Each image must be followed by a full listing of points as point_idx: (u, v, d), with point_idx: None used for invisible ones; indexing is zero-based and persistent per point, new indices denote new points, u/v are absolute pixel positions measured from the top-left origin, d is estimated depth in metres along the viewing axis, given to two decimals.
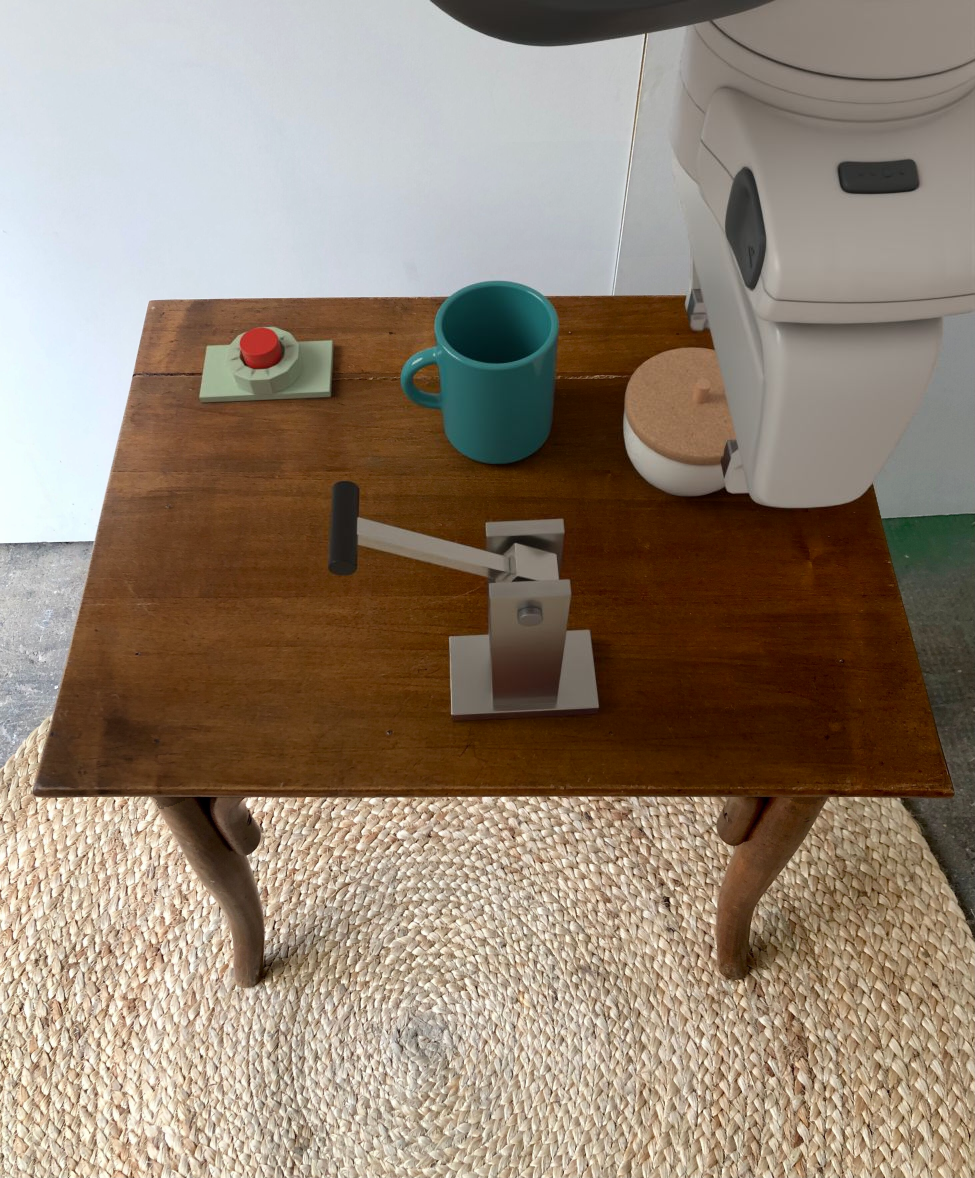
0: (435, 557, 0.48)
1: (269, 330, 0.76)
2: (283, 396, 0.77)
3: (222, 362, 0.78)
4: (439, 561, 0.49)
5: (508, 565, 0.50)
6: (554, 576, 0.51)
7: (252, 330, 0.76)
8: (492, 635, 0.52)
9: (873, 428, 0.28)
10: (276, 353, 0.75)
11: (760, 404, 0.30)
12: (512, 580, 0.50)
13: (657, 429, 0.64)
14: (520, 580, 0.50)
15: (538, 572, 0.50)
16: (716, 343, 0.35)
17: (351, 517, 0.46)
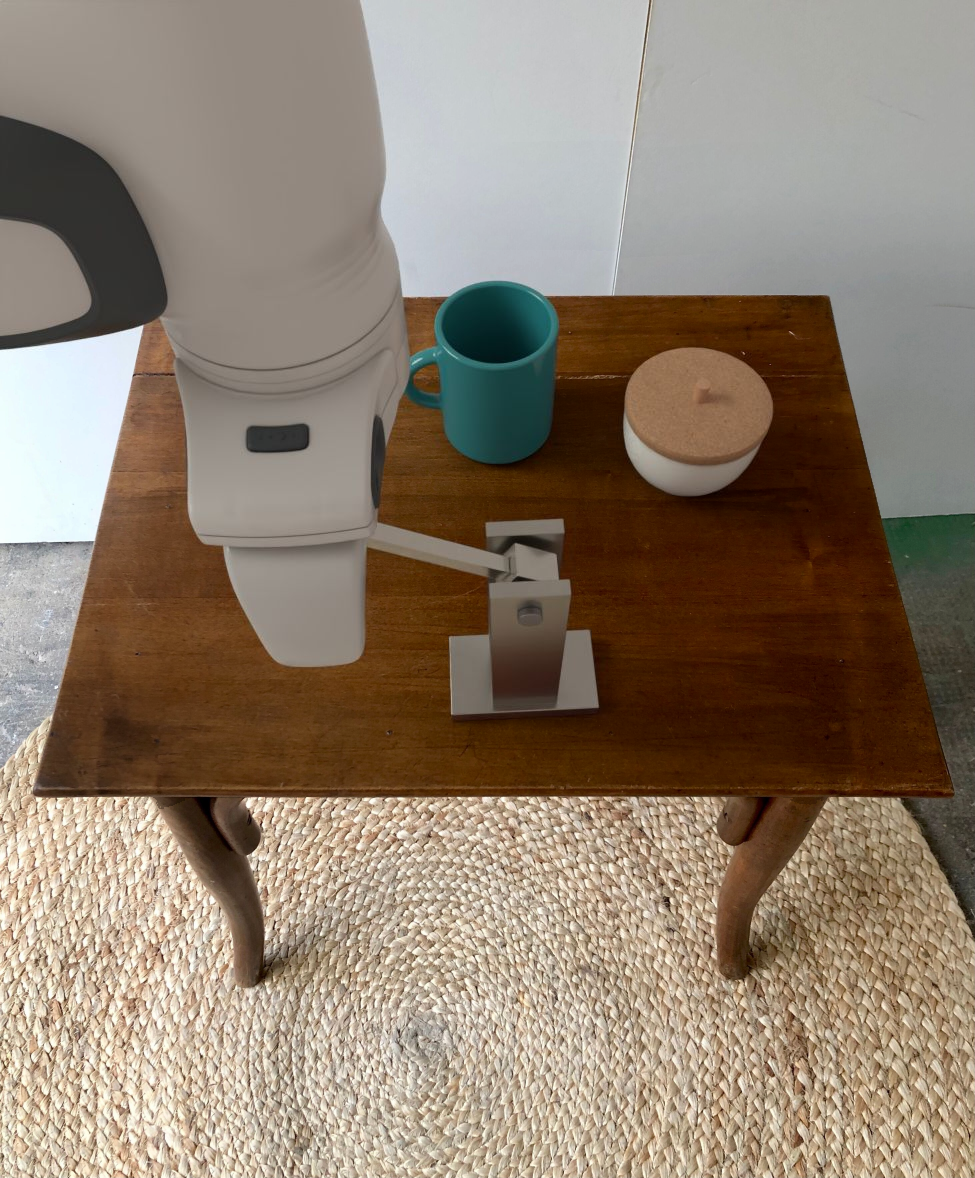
0: (435, 557, 0.48)
1: None
2: None
3: None
4: (439, 561, 0.49)
5: (508, 565, 0.50)
6: (554, 576, 0.51)
7: None
8: (492, 635, 0.52)
9: (328, 616, 0.34)
10: None
11: None
12: (512, 580, 0.50)
13: (657, 429, 0.64)
14: (520, 580, 0.50)
15: (538, 572, 0.50)
16: None
17: None
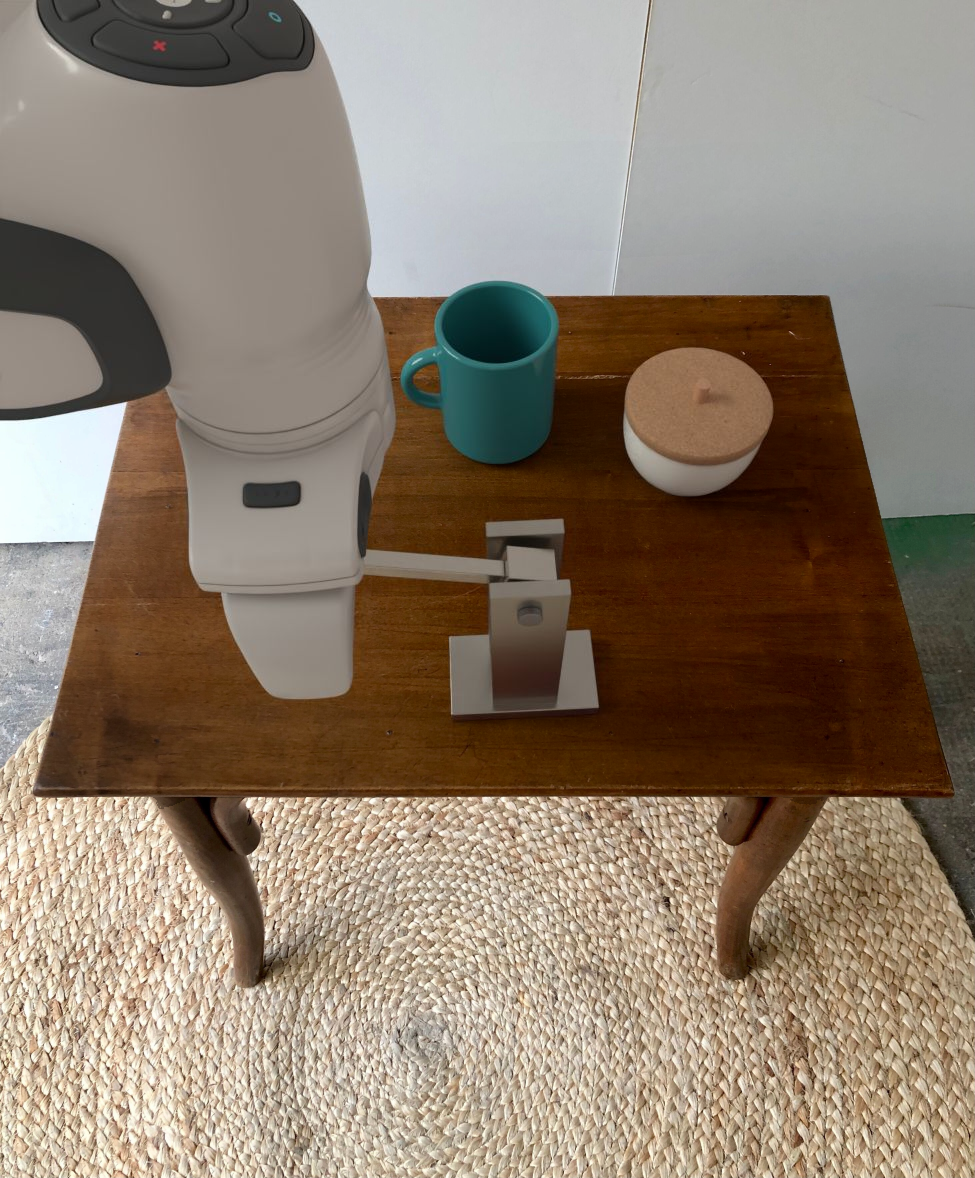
0: (424, 573, 0.50)
1: None
2: None
3: None
4: (430, 576, 0.50)
5: (503, 569, 0.51)
6: (550, 572, 0.50)
7: None
8: (492, 635, 0.52)
9: (318, 655, 0.37)
10: None
11: None
12: None
13: (657, 429, 0.64)
14: None
15: (532, 571, 0.50)
16: None
17: None
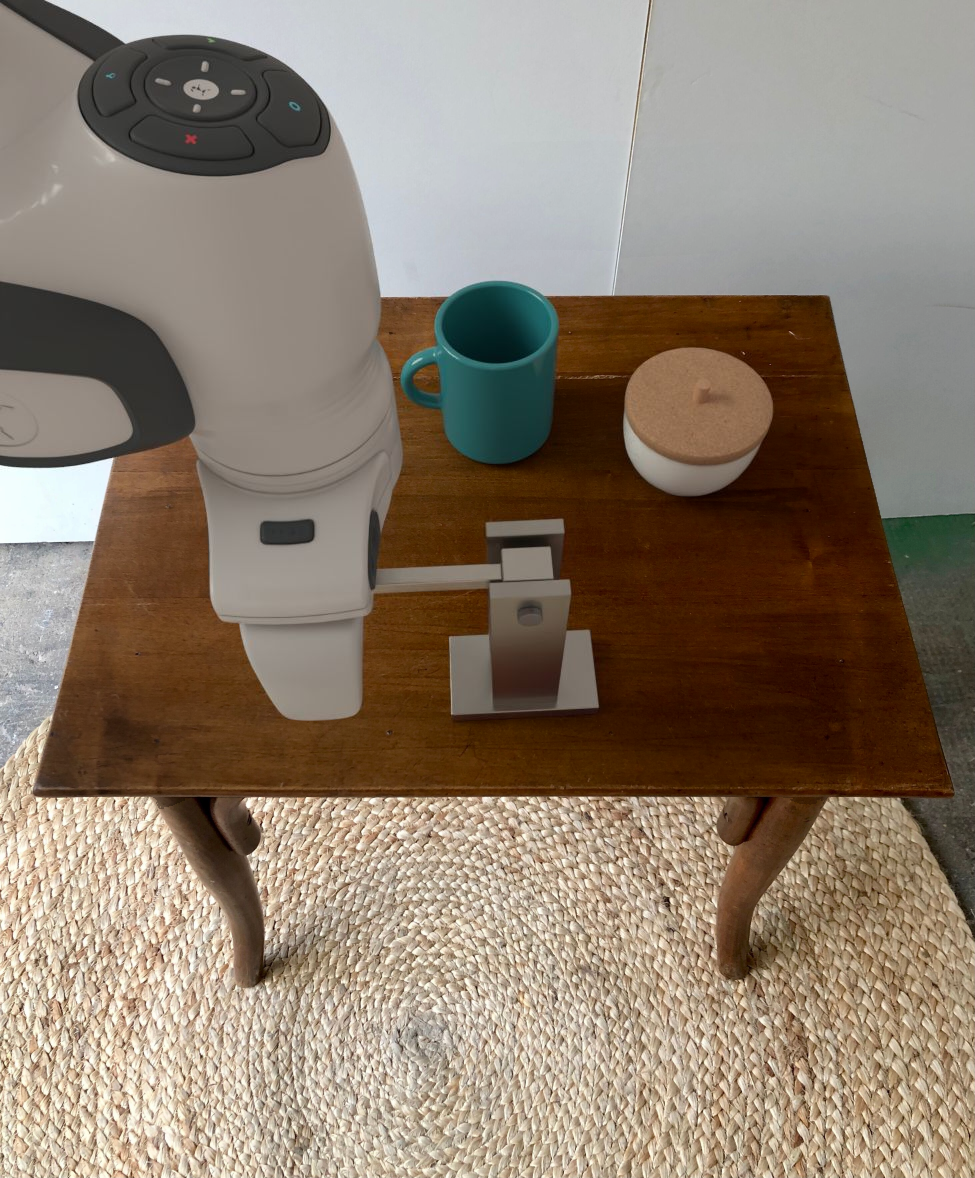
0: (423, 585, 0.51)
1: None
2: None
3: None
4: (429, 587, 0.51)
5: (500, 572, 0.51)
6: (546, 570, 0.50)
7: None
8: (492, 635, 0.52)
9: (330, 680, 0.39)
10: None
11: None
12: None
13: (657, 429, 0.64)
14: None
15: (527, 571, 0.50)
16: None
17: None
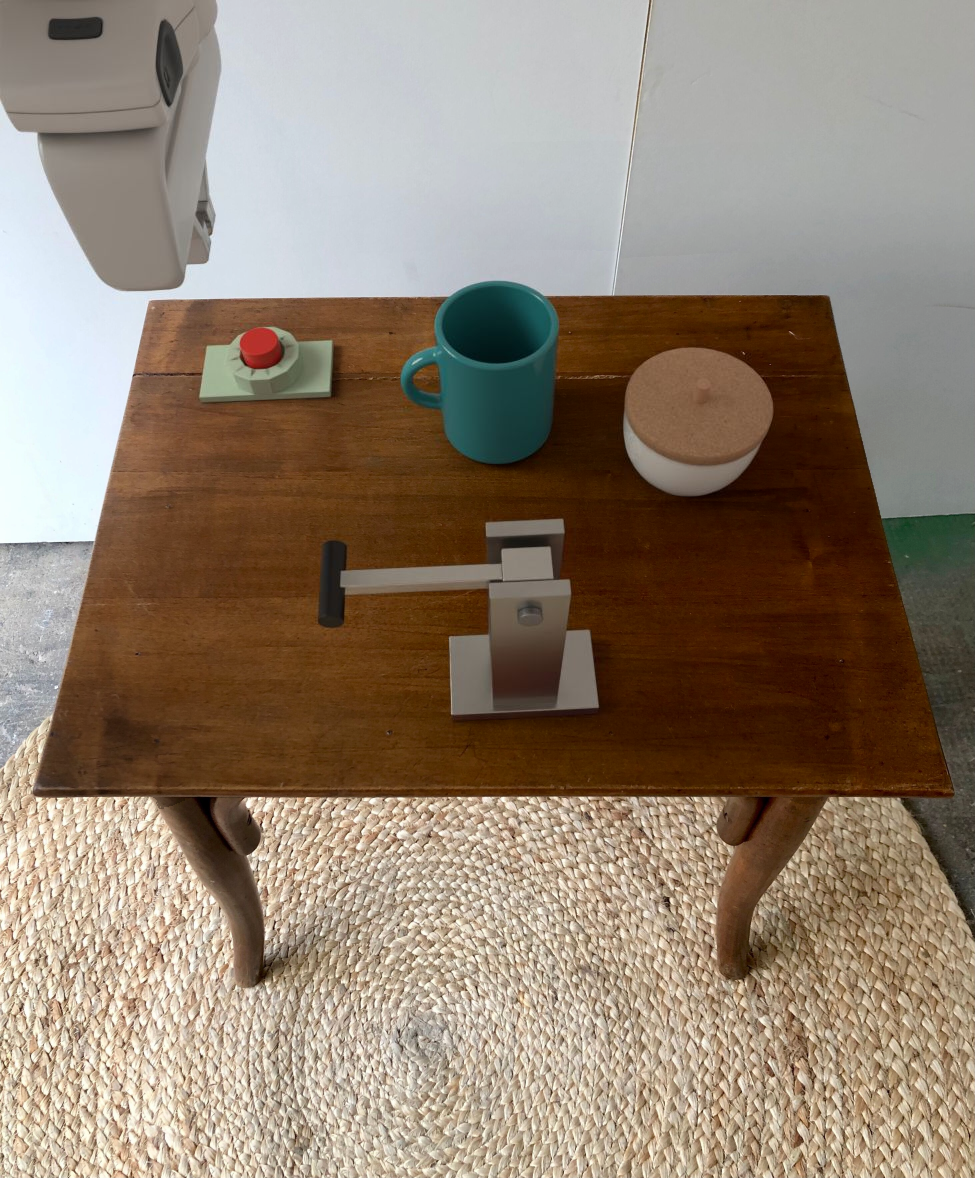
0: (423, 585, 0.51)
1: (269, 330, 0.76)
2: (283, 396, 0.77)
3: (222, 362, 0.78)
4: (429, 587, 0.51)
5: (500, 572, 0.51)
6: (546, 570, 0.50)
7: (252, 330, 0.76)
8: (492, 635, 0.52)
9: (135, 216, 0.40)
10: (276, 353, 0.75)
11: None
12: None
13: (657, 429, 0.64)
14: None
15: (527, 571, 0.50)
16: None
17: (333, 573, 0.51)
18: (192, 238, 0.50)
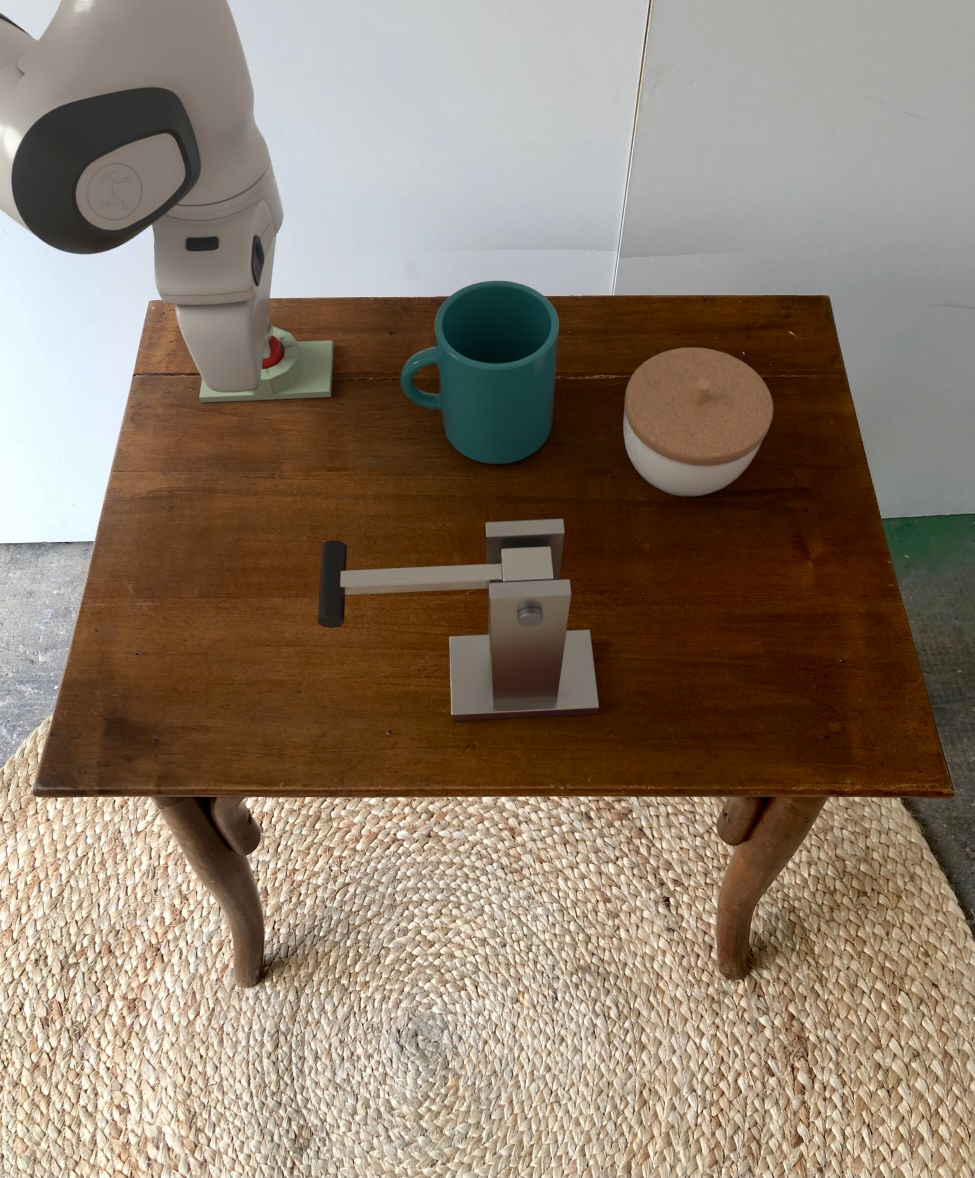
0: (423, 585, 0.51)
1: None
2: (283, 396, 0.77)
3: None
4: (429, 587, 0.51)
5: (500, 572, 0.51)
6: (546, 570, 0.50)
7: None
8: (492, 635, 0.52)
9: (234, 351, 0.63)
10: (278, 359, 0.76)
11: None
12: None
13: (657, 429, 0.64)
14: None
15: (527, 571, 0.50)
16: None
17: (333, 573, 0.51)
18: None
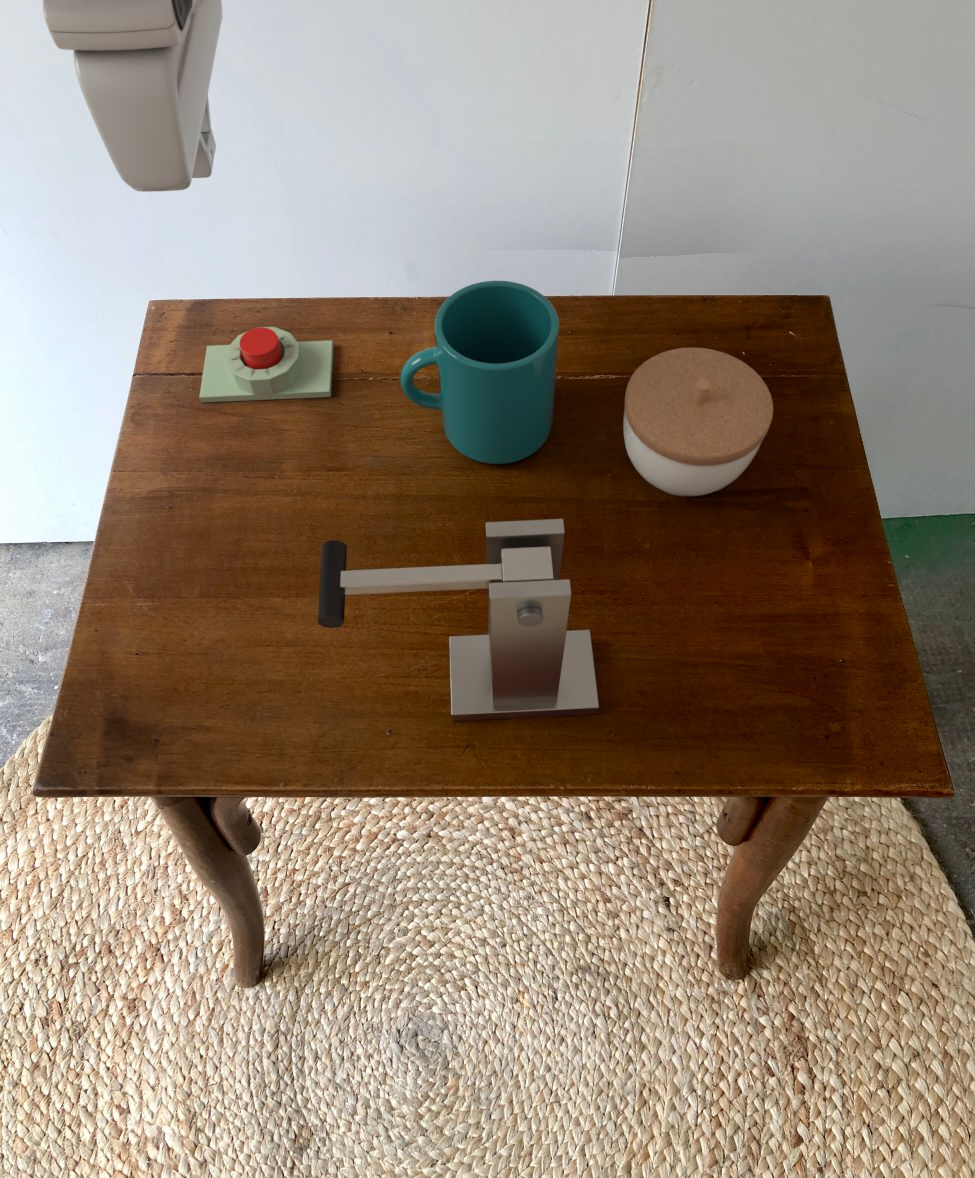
0: (423, 585, 0.51)
1: (269, 330, 0.76)
2: (283, 396, 0.77)
3: (222, 362, 0.78)
4: (429, 587, 0.51)
5: (500, 572, 0.51)
6: (546, 570, 0.50)
7: (252, 330, 0.76)
8: (492, 635, 0.52)
9: (152, 121, 0.48)
10: (276, 353, 0.75)
11: None
12: None
13: (657, 429, 0.64)
14: None
15: (527, 571, 0.50)
16: None
17: (333, 573, 0.51)
18: (197, 153, 0.59)
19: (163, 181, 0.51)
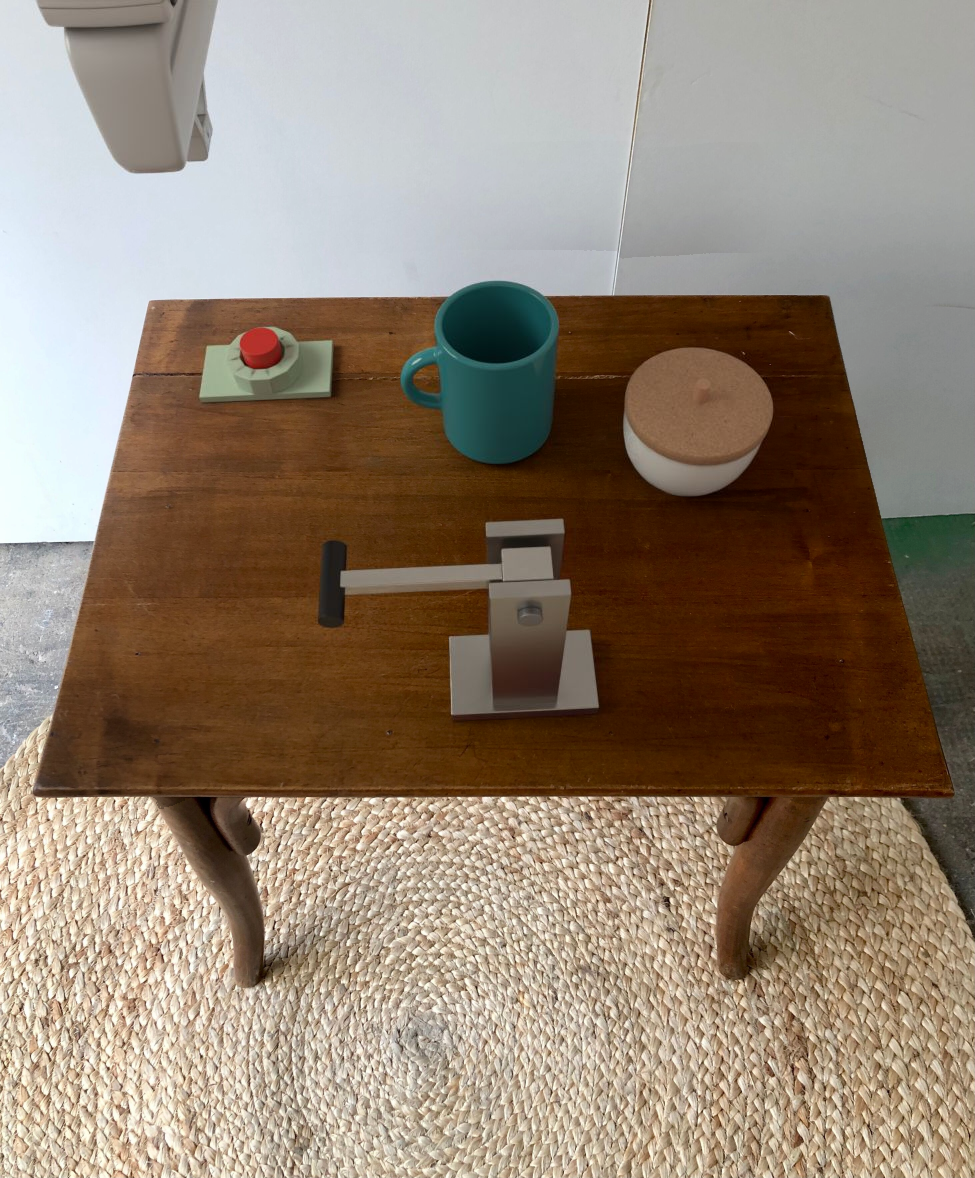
0: (423, 585, 0.51)
1: (269, 330, 0.76)
2: (283, 396, 0.77)
3: (222, 362, 0.78)
4: (429, 587, 0.51)
5: (500, 572, 0.51)
6: (546, 570, 0.50)
7: (252, 330, 0.76)
8: (492, 635, 0.52)
9: (145, 100, 0.47)
10: (276, 353, 0.75)
11: None
12: None
13: (657, 429, 0.64)
14: None
15: (527, 571, 0.50)
16: None
17: (333, 573, 0.51)
18: (194, 136, 0.58)
19: (157, 162, 0.50)
